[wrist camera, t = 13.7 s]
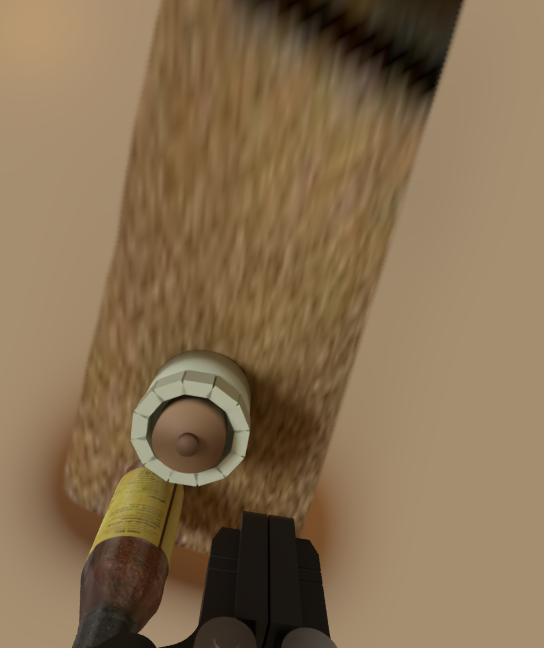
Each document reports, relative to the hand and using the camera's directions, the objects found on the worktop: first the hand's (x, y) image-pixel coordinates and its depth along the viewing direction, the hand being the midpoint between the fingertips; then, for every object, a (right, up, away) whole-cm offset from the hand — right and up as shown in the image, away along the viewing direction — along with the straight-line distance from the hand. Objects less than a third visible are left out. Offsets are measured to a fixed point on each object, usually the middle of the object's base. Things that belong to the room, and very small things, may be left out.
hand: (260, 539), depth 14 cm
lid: (-6, -2, +26) cm, 26 cm away
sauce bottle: (-11, -9, +33) cm, 36 cm away
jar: (-6, 0, +30) cm, 31 cm away
